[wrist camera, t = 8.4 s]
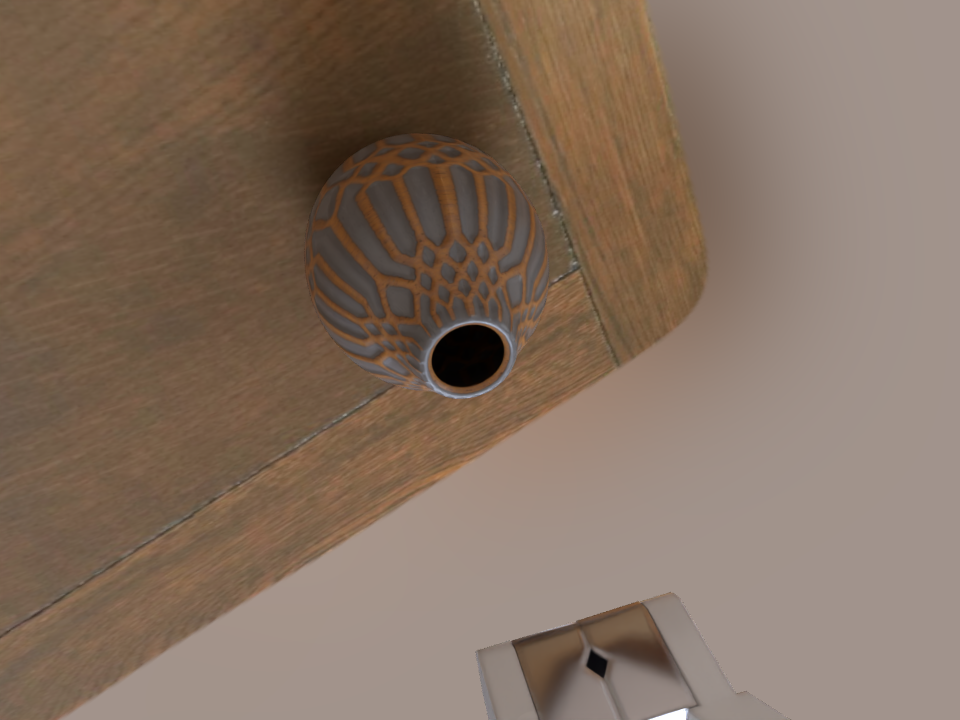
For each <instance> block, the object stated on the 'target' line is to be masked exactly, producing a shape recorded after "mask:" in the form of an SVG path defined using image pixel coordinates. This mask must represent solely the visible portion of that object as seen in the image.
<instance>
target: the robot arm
mask: <svg viewBox="0 0 960 720" xmlns="http://www.w3.org/2000/svg"><path fill="white" fill-rule="evenodd" d="M476 657H477V662H478V668H479V673H480V680H481V686H482V691H483V696H484V700H485V705H486V709H487V714H488V718H489V720H791V719H789V718H787V717H786V716H784V715H783V714H781V713H780V712H778V711H776V710H775V709H773V708H772V707H770V706H769V705H767V704H766V703H764V702H763V701H761V700H759V699H758V698H756V697H755V696H753V695H752V694H750V693H749V692H747V691H744V692H741V693H737V694H736V692H735V691H734V689H733V687H732V685H731V684H730V682H729V680H728V679H727V677H726V675H725V674H724V672H723V670H722V668H721V667H720V665H719V663H718V662H717V660H716V658H715V656H714V655H713V653H712V651H711V650H710V648H709V646H708V644H707V643H706V641H705V639H704V638H703V636H702V634H701V633H700V631H699V629H698V627H697V626H696V624H695V622H694V621H693V619H692V617H691V616H690V614H689V612H688V610H687V609H686V607H685V605H684V604H683V602H682V600H681V599H680V598H679V597H678V596H677V595H676V594H674V593H671V592H669V593H666V594H663V595H660V596H656V597H654V598H650V599H647V600H643V601H640V602H635V603H631V604H628V605H625V606H622V607H619V608H616V609H613V610H610V611H606V612H603V613H600V614H597V615H594V616H591V617H587V618H584V619H581V620H578V621H576V622H573V623H570V624H566V625H563V626H559V627H556V628H553V629H549V630H546V631H543V632H539V633H536V634H532V635H529V636H526V637H522V638H519V639H516V640H512V641H506V642H503V643H500V644H497V645H494V646H491V647H487V648H484V649H480V650H478V651H476Z"/></svg>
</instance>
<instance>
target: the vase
mask: <svg viewBox="0 0 960 720" xmlns="http://www.w3.org/2000/svg"><path fill="white" fill-rule="evenodd" d="M304 261H305V272H306V279H307V285H308V289H309V293H310V296H311V300H312V303H313V305H314V308H315V310H316V312H317V314H318V316H319V318H320V320H321V322H322V324H323V326H324V327H325V329H326V330H327V332H328V333H329V335H330V336H331V338H332V339H333V340H334V342H335V343H336V344H337V345H338V346H339V347H340V349H341V350H342V351H343V352H344V353H345V354H346V355H347V356H348V357H349V358H350V359H351V360H353V361H354V362H355V363H356V364H357V365H358V366H360V367H361V368H362V369H364V370H365V371H367V372H368V373H370V374H372V375H373V376H375V377H377V378H379V379H381V380H383V381H385V382H388V383H390V384H393V385H396V386H399V387H403V388H407V389H412V390H419V391H434V392H436V393H438V394H440V395H443V396H446V397H449V398H457V399H464V398H472V397H476V396H479V395H482V394H484V393H487V392H489V391H490V390H492V389H494V388H495V387H497V386H498V385H499V384H500V383H501V382H502V381H503V380H504V379H505V378H506V377H507V376H508V374H509V373H510V371H511V370H512V368H513V366H514V363H515V361H516V357H517V354H518V353H519V352H520V351H521V349H522V348H523V347H524V346H525V344H526V343H527V342H528V340H529V339H530V337H531V336H532V334H533V332H534V330H535V328H536V326H537V324H538V322H539V320H540V318H541V315H542V312H543V309H544V306H545V302H546V297H547V292H548V284H549V259H548V251H547V244H546V240H545V236H544V231H543V228H542V225H541V222H540V220H539V217H538V215H537V213H536V210H535V208H534V206H533V204H532V202H531V201H530V199H529V198H528V196H527V195H526V193H525V192H524V190H523V189H522V187H521V186H520V185H519V184H518V182H517V181H516V180H515V179H514V178H513V177H512V176H511V175H510V173H509V172H508V171H507V170H506V169H505V168H504V167H502V166H501V165H500V164H499V163H498V162H497V161H495V160H494V159H493V158H492V157H490V156H489V155H487V154H486V153H485V152H483V151H481V150H480V149H478V148H476V147H474V146H472V145H470V144H467V143H465V142H462V141H460V140H457V139H454V138H450V137H447V136H442V135H436V134H423V133H414V134H403V135H397V136H392V137H389V138H385V139H382V140H379V141H377V142H374V143H372V144H370V145H368V146H366V147H364V148H362V149H361V150H359V151H358V152H356V153H355V154H353V155H352V156H351V157H349V158H348V159H347V160H346V161H345V162H344V163H342V164H341V165H340V166H339V167H338V169H337V170H336V171H335V172H334V173H333V174H332V175H331V176H330V178H329V179H328V180H327V182H326V183H325V185H324V186H323V188H322V189H321V191H320V193H319V195H318V197H317V199H316V201H315V203H314V206H313V208H312V211H311V214H310V216H309V220H308V224H307V229H306V234H305V248H304Z"/></svg>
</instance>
